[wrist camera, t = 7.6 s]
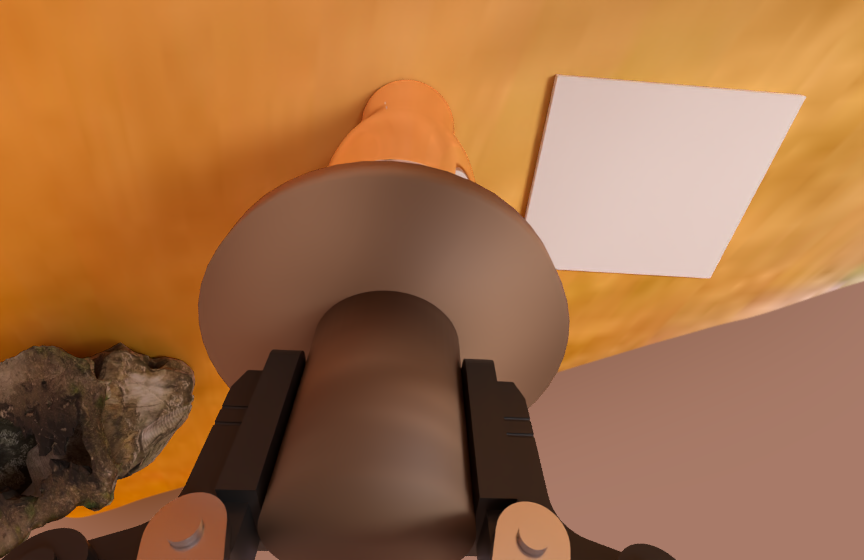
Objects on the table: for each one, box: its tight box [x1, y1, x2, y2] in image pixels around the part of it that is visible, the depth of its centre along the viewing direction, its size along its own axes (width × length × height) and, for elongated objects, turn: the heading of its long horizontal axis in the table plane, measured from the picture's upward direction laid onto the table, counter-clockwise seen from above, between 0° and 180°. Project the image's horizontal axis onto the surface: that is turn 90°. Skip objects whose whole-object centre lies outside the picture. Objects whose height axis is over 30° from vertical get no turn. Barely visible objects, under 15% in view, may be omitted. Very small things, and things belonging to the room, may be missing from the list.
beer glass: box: [328, 80, 476, 183], centre depth 23 cm, size 7×7×15 cm
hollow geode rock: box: [0, 342, 195, 558], centre depth 40 cm, size 28×13×15 cm
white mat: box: [524, 74, 806, 278], centre depth 32 cm, size 16×14×1 cm
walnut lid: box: [198, 161, 569, 560], centre depth 11 cm, size 10×10×6 cm
